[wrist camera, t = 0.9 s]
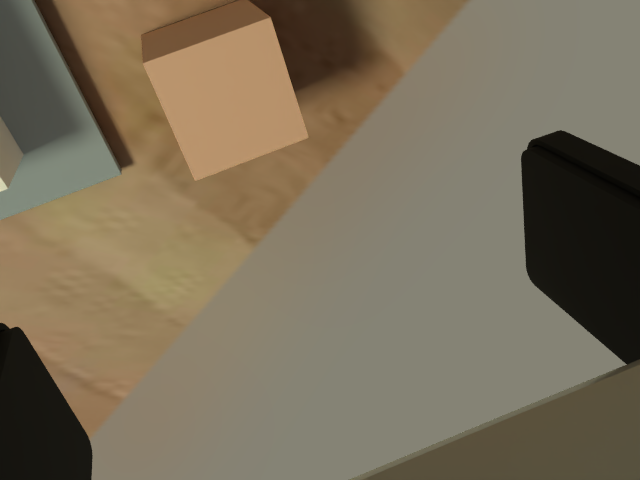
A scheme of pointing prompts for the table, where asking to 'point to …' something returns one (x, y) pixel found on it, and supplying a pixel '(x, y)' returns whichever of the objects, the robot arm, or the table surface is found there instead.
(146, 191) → the table surface
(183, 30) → the terracotta block
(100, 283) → the table surface
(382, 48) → the table surface
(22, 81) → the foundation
